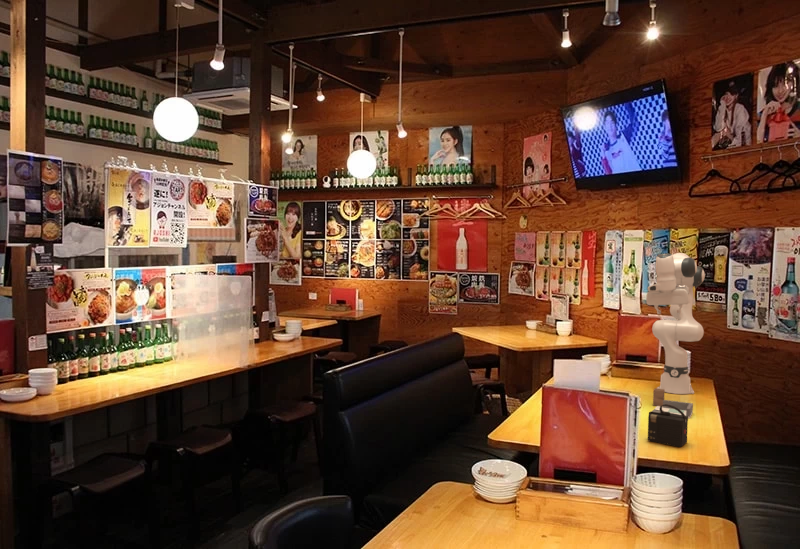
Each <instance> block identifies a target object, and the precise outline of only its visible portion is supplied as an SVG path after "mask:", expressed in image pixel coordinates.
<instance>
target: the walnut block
mask: <svg viewBox="0 0 800 549" xmlns="http://www.w3.org/2000/svg"><path fill="white" fill-rule="evenodd" d="M665 393H666V392H665V390H664V389H657V387H656V388H654V389H653V393H652V394H653V395H652V398H653V399H652V407H656V406H662V405H663V400H665ZM662 407H663V406H662Z"/></svg>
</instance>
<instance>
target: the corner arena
mask: <svg viewBox="0 0 800 549" xmlns="http://www.w3.org/2000/svg"><path fill="white" fill-rule="evenodd" d="M664 404H668V405H672V406H674V407H676V408H678V409H679V410H681V411H682V412H683V413H684V415H685V416H688V420H689V419H691V417H692V414H693V410H694V408H693V407H694V403H692V402H685V401H676V400H669V399H664V400H663V405H664ZM654 409H655V410H660V406H655V408H654ZM662 410H663V411H665V412H670V413H673V414H679V415H681V414H680V413H679V412H678V411H677V410H675V409H674V408H671V407H668V406H663V407H662Z"/></svg>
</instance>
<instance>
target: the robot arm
mask: <svg viewBox="0 0 800 549" xmlns="http://www.w3.org/2000/svg"><path fill="white" fill-rule="evenodd" d="M655 274H656V276H657V277H656V283H654V284H652V285H649V286H648V287H647V292H646V302H645V303H646V304H647V306H654V307H653V308H654V309H655V310H656V313H657V315H661V314H662V310H661V309H659V306H670V308H669V313H670V315H671V316H672V317H673V318H675V320H674V319H660V320H659V319H658V320H655V322H654V323H653V324H652V326H651V327H652V328H651V330H652V334H653V336H654V337H655V338H656V339H658V341H659V342H660V343H661V345H662V346H663V349H664V357H665V358H664V359H665V360H664V361H665V364H664V367H663V371H664V372H663V373H661V374H660V383H659V384H660V385H659V386H657V387H656V389H664V390H665V392H664V393H667V394H668V393H669V394H673V395H674V394H675V395H688V394H691V395H692V394H693V395H694V394H695V391H694V388H693V387H692V384H691V377H690V375H689V374H688V373H689V367H688V360H689V359H688V357H689V356H688V352H687V351H686V349H685V348H683V347H681V346H679V345H678V344H677V341H679V342H691V343H692V342H699V341H701V339H702V338H703V336H704V335H705V334H704V333H705V331H704V327H703V325H702V324H701V323H700V322H698V321H697V320H696V319H695V318H694V317H693V304H694V289H697V288H698V287H700V286H701V284H703V282H704V280H705V277H706V272H705V271H704V268H703V267H702V266H699V265H698V266H697V262H696V260H695V259H694V258H692V257H690V256H689V255H687V253H683V252H676V253H673V254H672V253H660V254H658V255H657V256H656V258H655Z"/></svg>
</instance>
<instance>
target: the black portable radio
mask: <svg viewBox="0 0 800 549" xmlns="http://www.w3.org/2000/svg"><path fill="white" fill-rule="evenodd" d="M662 406H668V407H671V408H674V409H675V410H677V411H678V412H679V413H680V414H681V415H679V414H673V413H670V412H665V411H663V410H662ZM662 406H660V410H655V408H654V409H653V410H651V411H649V412H648V418H647V419H648V421H647V441H648V442H652V443H658V444H662V445H668V446H673V447H678V448H682V447H683V446H684V445H685V444H687V443H688V424H689V423H688V421H689V419H688V416H685V415H684V413H683V412H682V411H681V410H679V409H678V408H676V407H674V406H672V405H668V404H664V405H662Z"/></svg>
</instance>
